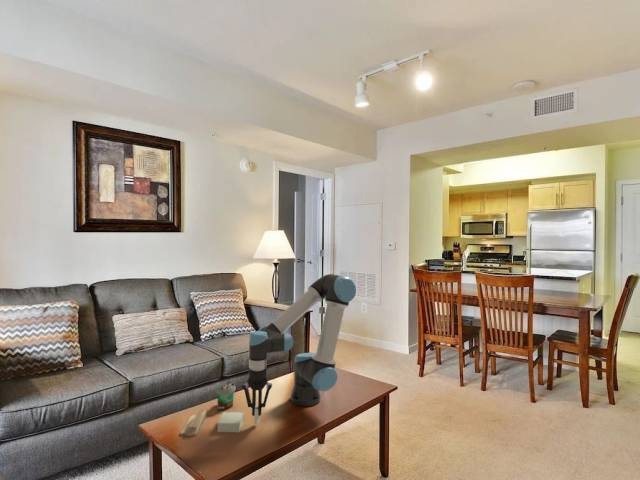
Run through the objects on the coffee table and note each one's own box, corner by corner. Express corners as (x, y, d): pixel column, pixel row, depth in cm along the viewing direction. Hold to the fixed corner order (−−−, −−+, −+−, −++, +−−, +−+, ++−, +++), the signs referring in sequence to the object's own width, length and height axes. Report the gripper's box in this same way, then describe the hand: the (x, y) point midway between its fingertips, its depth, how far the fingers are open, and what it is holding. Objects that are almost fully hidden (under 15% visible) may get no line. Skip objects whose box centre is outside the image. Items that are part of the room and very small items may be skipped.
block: (243, 421, 170) (243, 412, 170) (239, 432, 160) (239, 423, 160) (223, 421, 169) (223, 412, 169) (217, 432, 159) (217, 423, 159)
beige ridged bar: (206, 417, 172) (206, 409, 172) (196, 435, 156) (196, 427, 156) (191, 417, 172) (192, 409, 172) (180, 435, 156) (180, 426, 156)
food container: (228, 413, 177) (229, 391, 177) (216, 411, 178) (216, 390, 178) (239, 401, 189) (239, 381, 189) (227, 400, 190) (228, 380, 190)
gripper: (273, 365, 169) (272, 418, 169) (243, 365, 168) (242, 418, 168) (272, 371, 161) (270, 427, 161) (241, 371, 161) (239, 427, 161)
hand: (256, 422), depth 165 cm, fingers closed
